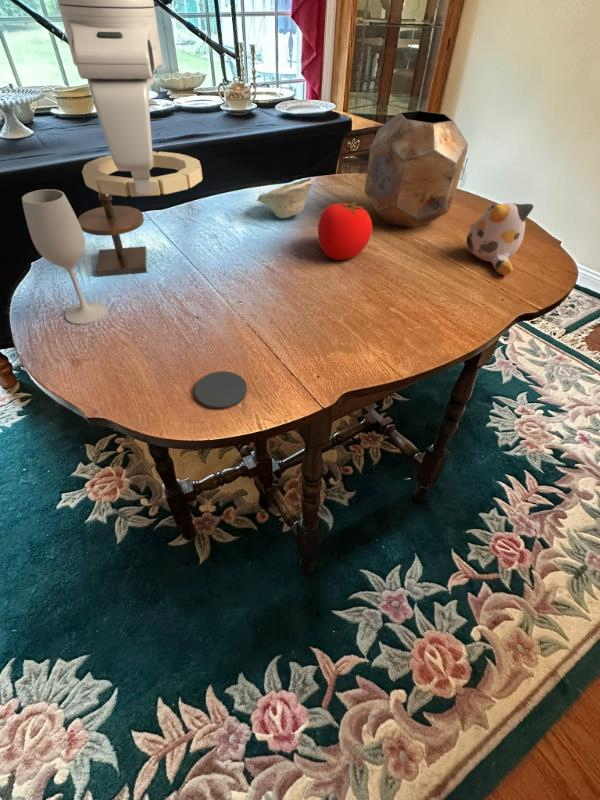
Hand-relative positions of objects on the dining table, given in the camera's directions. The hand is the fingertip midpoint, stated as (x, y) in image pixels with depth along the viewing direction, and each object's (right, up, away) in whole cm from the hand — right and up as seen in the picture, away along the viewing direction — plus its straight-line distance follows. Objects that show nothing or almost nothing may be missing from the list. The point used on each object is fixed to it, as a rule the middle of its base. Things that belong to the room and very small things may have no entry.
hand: (144, 187), depth 54 cm
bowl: (+15, +23, +63) cm, 69 cm away
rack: (-19, +4, +41) cm, 46 cm away
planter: (+48, +23, +65) cm, 84 cm away
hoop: (-2, +4, +5) cm, 7 cm away
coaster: (+7, -25, +13) cm, 29 cm away
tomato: (+29, +8, +48) cm, 57 cm away
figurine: (+65, +5, +47) cm, 80 cm away
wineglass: (-21, -10, +27) cm, 36 cm away
